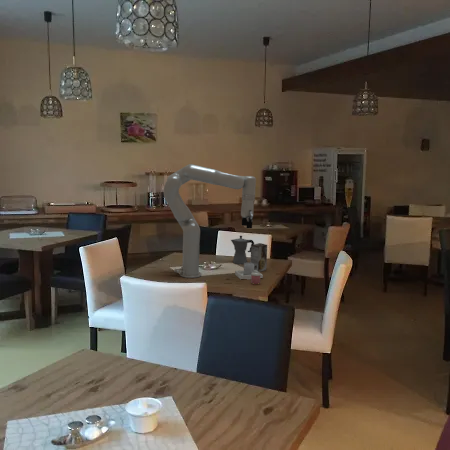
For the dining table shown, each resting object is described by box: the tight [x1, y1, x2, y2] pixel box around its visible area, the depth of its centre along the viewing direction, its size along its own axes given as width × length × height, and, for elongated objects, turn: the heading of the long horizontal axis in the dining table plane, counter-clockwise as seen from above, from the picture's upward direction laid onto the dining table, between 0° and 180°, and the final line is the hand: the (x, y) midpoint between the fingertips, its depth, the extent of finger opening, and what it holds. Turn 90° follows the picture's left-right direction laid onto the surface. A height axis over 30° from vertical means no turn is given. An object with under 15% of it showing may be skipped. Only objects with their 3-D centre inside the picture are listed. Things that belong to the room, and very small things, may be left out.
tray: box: [234, 269, 264, 280], centre depth 299 cm, size 13×12×2 cm
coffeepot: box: [230, 235, 255, 265], centre depth 333 cm, size 15×9×18 cm, turn 82°
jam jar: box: [250, 272, 262, 284], centre depth 284 cm, size 5×5×6 cm
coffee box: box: [249, 242, 268, 273], centre depth 314 cm, size 9×6×16 cm
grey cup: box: [243, 261, 254, 275], centre depth 299 cm, size 6×6×7 cm
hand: (246, 226), depth 297 cm, fingers open, 9 cm apart
